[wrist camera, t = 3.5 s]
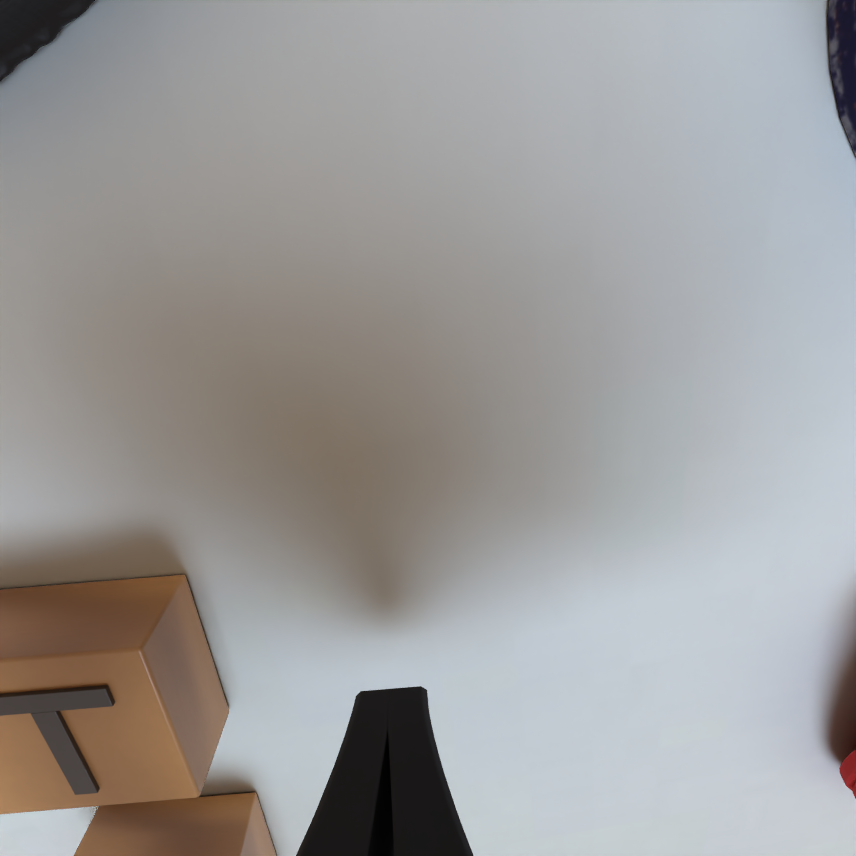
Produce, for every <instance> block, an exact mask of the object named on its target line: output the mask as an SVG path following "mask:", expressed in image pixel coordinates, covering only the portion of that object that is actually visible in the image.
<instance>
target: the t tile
mask: <svg viewBox="0 0 856 856" xmlns="http://www.w3.org/2000/svg"><path fill="white" fill-rule="evenodd" d="M228 714H229V709H228V706H227V703H226V699H225V696H224V693H223V690H222V687H221V684H220V681H219V678H218V675H217V672H216V668H215V665H214V662H213V659H212V656H211V653H210V650H209V647H208V644H207V641H206V638H205V634H204V631H203V628H202V625H201V622H200V619H199V616H198V613H197V610H196V607H195V603H194V600H193V597H192V594H191V591H190V588H189V585H188V582H187V579H186V576H185V575H172V576H159V577H147V578H135V579H122V580H110V581H97V582H85V583H73V584H60V585H48V586H36V587H23V588H11V589H0V814H9V813H21V812H32V811H44V810H56V809H68V808H79V807H91V806H103V805H115V804H126V803H138V802H150V801H162V800H173V799H185V798H197V797H199V796H200V794H201V791H202V788H203V786H204V783H205V780H206V777H207V774H208V771H209V768H210V765H211V763H212V760H213V757H214V754H215V751H216V748H217V745H218V742H219V740H220V737H221V734H222V731H223V728H224V725H225V722H226V719H227V717H228Z"/></svg>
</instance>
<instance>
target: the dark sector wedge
mask: <svg viewBox="0 0 856 856" xmlns="http://www.w3.org/2000/svg"><path fill="white" fill-rule="evenodd" d="M94 1H95V0H0V81H1V80H2V79H3V78H4V77H6V76H8V75H9V74H10V73H11V72H12V71H13V69H14V68H15V66H16V65H18V64H19V63H20V62H22V61H23V60H25V59H27V58H29V57H30V56H32V55H33V54H34V53H35V52H36V51H37V50H38V49H39V48H40V47H41V46H44V45H46V44H48V43H50V42H51V41H52V40H53V39H54V38H55V37H56V35H57V34H58V32H59V31H60V29H61V28H62V27H63V26H64V25H66V24H68V23H69V22H71V21H72V20H74V19H75V18H77V17H79V16H80V15H81V14H83V13H84V12H85V11H86V9H87V8H88V7H89V6H90V5H91V4H92V3H93V2H94Z"/></svg>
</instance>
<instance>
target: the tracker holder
mask: <svg viewBox="0 0 856 856" xmlns="http://www.w3.org/2000/svg"><path fill="white" fill-rule="evenodd" d="M839 769H840V774H841V776H842V778H843V780H844V782H845V784H846V786H847V787H848V788H849V789H851V790H852V791H853V794H854V796H855V798H856V749H855V750H854V751H853V752H852V753H850V754H849V755H848V757H847V758H846V759H845V760H844V761H843V762H842V764H841V766H840V768H839Z"/></svg>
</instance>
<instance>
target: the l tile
mask: <svg viewBox="0 0 856 856" xmlns="http://www.w3.org/2000/svg"><path fill="white" fill-rule="evenodd" d="M74 856H276V853H275V850H274V847H273V844H272V840H271V837H270V834H269V831H268V828H267V825H266V822H265V819H264V816H263V813H262V809H261V806H260V803H259V800H258V797H257V794H256V793H255V792H253V793H241V794H230V795H218V796H206V797H197V798H185V799H173V800H162V801H150V802H138V803H126V804H115V805H103V806H99V807H98V809H97V811H96V813H95V815H94V817H93V819H92V821H91V823H90V825H89V827H88V829H87V831H86V833H85V835H84V837H83V839H82V841H81V843H80V844H79V846H78V848H77V850H76V852H75V854H74Z"/></svg>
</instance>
